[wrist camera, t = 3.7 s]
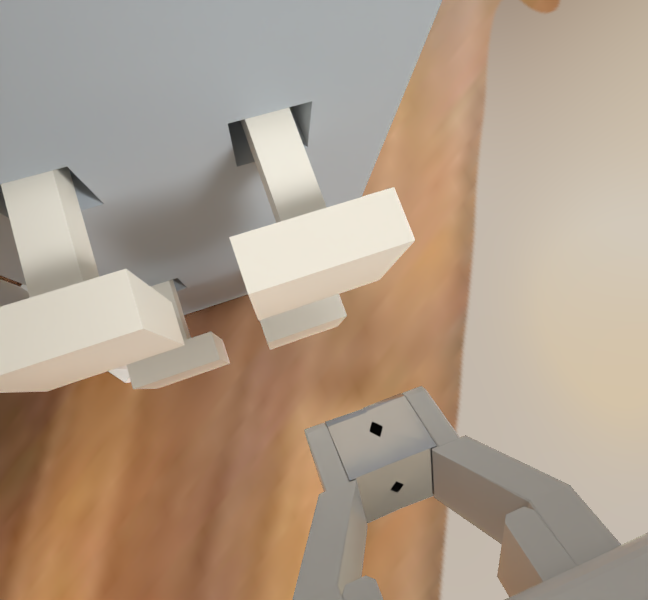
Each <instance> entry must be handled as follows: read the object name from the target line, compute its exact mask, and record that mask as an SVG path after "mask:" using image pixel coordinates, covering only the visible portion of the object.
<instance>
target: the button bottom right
mask: <svg viewBox="0 0 648 600" xmlns="http://www.w3.org/2000/svg"><path fill="white" fill-rule="evenodd" d="M346 316H347V315H346V312H345V309H344V307H343V304H342V301H341V298H340V296H339V294H336V295H333V296H330V297H328V298H325V299H322V300H319V301H316V302H313V303H310V304H307V305H304V306H301V307H298V308H295V309H292V310H289V311H286V312H283V313H280V314H277V315H274V316H271V317H268V318H265V319H262V320H260V323H261V325H262V328H263V331H264V334H265V337H266V340H267V343H268V346H269V348H270V350H271V349H274V348H276V347H279V346H282V345H285V344H288V343H291V342H294V341H297V340H300V339H302V338H305V337H308V336H311V335H314V334H317V333H320V332H323V331H326V330H328V329H331V328H334V327H337V326H338V325H339V324H340V323H341V322H342V321H343V320H344V318H345V317H346Z"/></svg>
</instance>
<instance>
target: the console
mask: <svg viewBox="0 0 648 600" xmlns="http://www.w3.org/2000/svg"><path fill="white" fill-rule="evenodd" d="M441 2H442V0H0V275H1V276H3V277H6V278H9V279H11V280H14V281H16V282H19V283H22V284H24V285H26V282H25V278H24V274H23V270H22V266H21V262H20V258H19V254H18V250H17V246H16V242H15V239H14V235H13V231H12V227H11V223H10V219H9V215H8V211H7V207H6V203H5V199H4V195H3V192H2V188H1V184H3V183H7V182H10V181H14V180H18V179H22V178H25V177H29V176H33V175H37V174H41V173H44V172H48V171H52V170H56V169H59V168H63V167H68V168H69V170H70V174H71V178H72V181H73V185H74V188H75V192H76V195H77V199H78V202H79V206H80V209H81V213H82V217H83V220H84V224H85V227H86V231H87V234H88V238H89V241H90V245H91V248H92V252H93V255H94V259H95V263H96V266H97V270H98V273H99V277H100V276H103V275H106V274H110V273H113V272H116V271H120V270H123V269H127V270H129V271H130V272H131V273H133V274H134V275H135V276H137V277H138V278H139V279H141V280H142V281H143V282H145V283H146V284H148V285H149V286H153V285H156V284H160V283H163V282H166V281H169V280H172V279H173V281H174V285H175V288H176V291H177V294H178V298H179V301H180V304H181V307H182V311H183V314H184V315H186V314H189V313H192V312H195V311H198V310H201V309H204V308H207V307H210V306H213V305H216V304H220V303H223V302H226V301H229V300H232V299H235V298H238V297H241V296H244V295H247V294H248V292H247V289H246V286H245V283H244V280H243V277H242V274H241V271H240V268H239V265H238V262H237V259H236V256H235V253H234V250H233V247H232V244H231V241H230V238H229V237H231V236H235V235H238V234H241V233H245V232H248V231H251V230H254V229H258V228H261V227H264V226H268V225H271V224H274V223H276V220H275V218H274V215H273V212H272V209H271V206H270V203H269V201H268V198H267V195H266V192H265V189H264V186H263V184H262V181H261V178H260V175H259V172H258V169H257V167H256V164H255V161H254V158H253V155H252V152H251V150H250V147H249V144H248V141H247V138H246V135H245V133H244V130H243V127H242V124H241V121H240V120H244V119H247V118H251V117H255V116H259V115H262V114H266V113H270V112H274V111H277V110H281V109H285V108H290V110H291V113H292V116H293V118H294V121H295V124H296V126H297V129H298V132H299V135H300V137H301V140H302V143H303V145H304V148H305V151H306V153H307V156H308V159H309V161H310V164H311V167H312V169H313V172H314V175H315V177H316V180H317V183H318V185H319V188H320V191H321V193H322V196H323V199H324V202H325V204H326V207H330V206H333V205H337V204H340V203H343V202H347V201H350V200H353V199H356V198H360V197H362V194H363V192H364V189H365V187H366V185H367V182H368V180H369V177H370V175H371V172H372V170H373V168H374V165H375V163H376V160H377V158H378V155H379V153H380V151H381V148H382V146H383V143H384V141H385V138H386V136H387V133H388V131H389V129H390V126H391V124H392V121H393V119H394V116H395V114H396V112H397V109H398V107H399V104H400V102H401V99H402V97H403V95H404V92H405V90H406V87H407V85H408V82H409V80H410V78H411V75H412V73H413V70H414V68H415V65H416V63H417V61H418V58H419V56H420V53H421V51H422V48H423V46H424V43H425V41H426V39H427V36H428V34H429V31H430V29H431V26H432V24H433V22H434V19H435V17H436V14H437V12H438V9H439V7H440V5H441Z"/></svg>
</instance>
